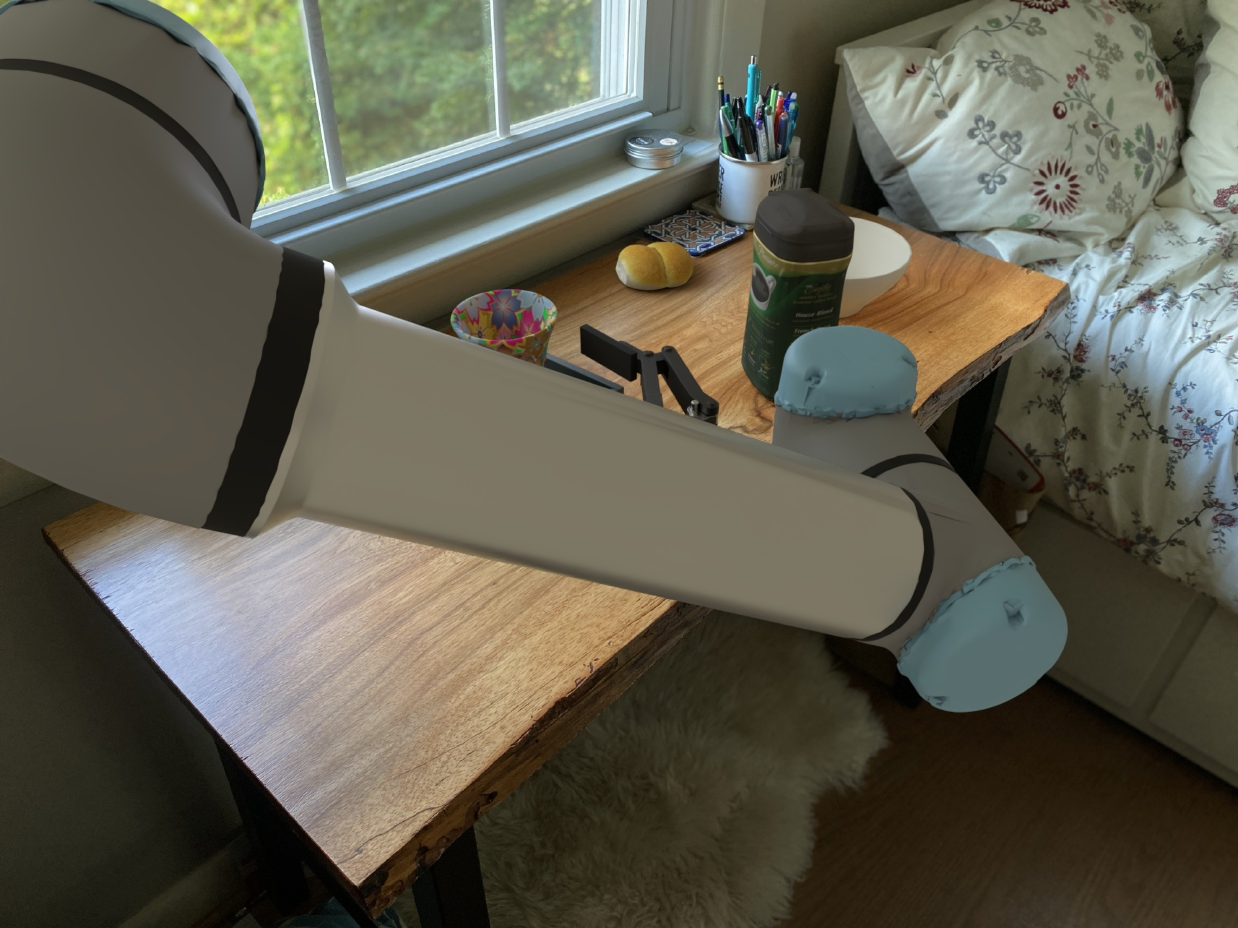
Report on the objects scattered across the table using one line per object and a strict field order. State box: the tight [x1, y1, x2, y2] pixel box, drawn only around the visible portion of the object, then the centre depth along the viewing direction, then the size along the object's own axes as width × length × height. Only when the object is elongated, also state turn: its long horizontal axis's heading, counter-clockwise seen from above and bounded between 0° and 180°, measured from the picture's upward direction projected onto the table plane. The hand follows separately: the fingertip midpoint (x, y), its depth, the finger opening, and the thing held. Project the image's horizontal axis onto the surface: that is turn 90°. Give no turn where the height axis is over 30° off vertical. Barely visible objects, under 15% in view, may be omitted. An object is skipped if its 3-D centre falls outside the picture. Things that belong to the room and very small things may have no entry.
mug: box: [450, 288, 559, 368], centre depth 84 cm, size 12×9×11 cm
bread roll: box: [615, 241, 694, 291], centre depth 109 cm, size 8×9×4 cm
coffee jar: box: [740, 187, 855, 401], centre depth 87 cm, size 10×8×19 cm
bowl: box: [839, 216, 913, 319], centre depth 103 cm, size 16×16×7 cm
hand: (522, 366), depth 79 cm, fingers open, 13 cm apart
